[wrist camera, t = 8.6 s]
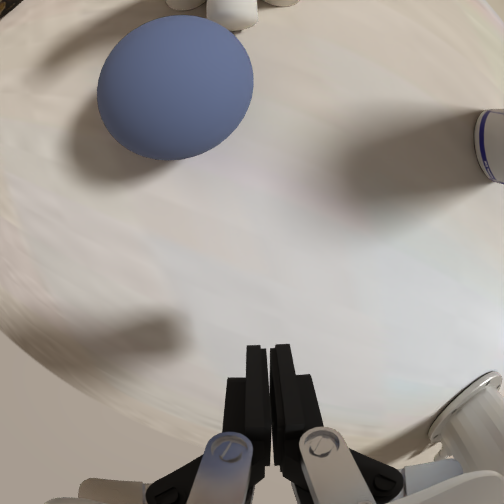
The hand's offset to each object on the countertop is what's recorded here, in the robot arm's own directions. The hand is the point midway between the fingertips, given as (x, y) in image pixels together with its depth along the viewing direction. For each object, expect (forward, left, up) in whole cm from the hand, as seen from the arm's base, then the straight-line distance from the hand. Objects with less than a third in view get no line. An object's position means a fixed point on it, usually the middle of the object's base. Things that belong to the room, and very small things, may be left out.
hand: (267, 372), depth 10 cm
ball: (+11, +3, -2) cm, 12 cm away
